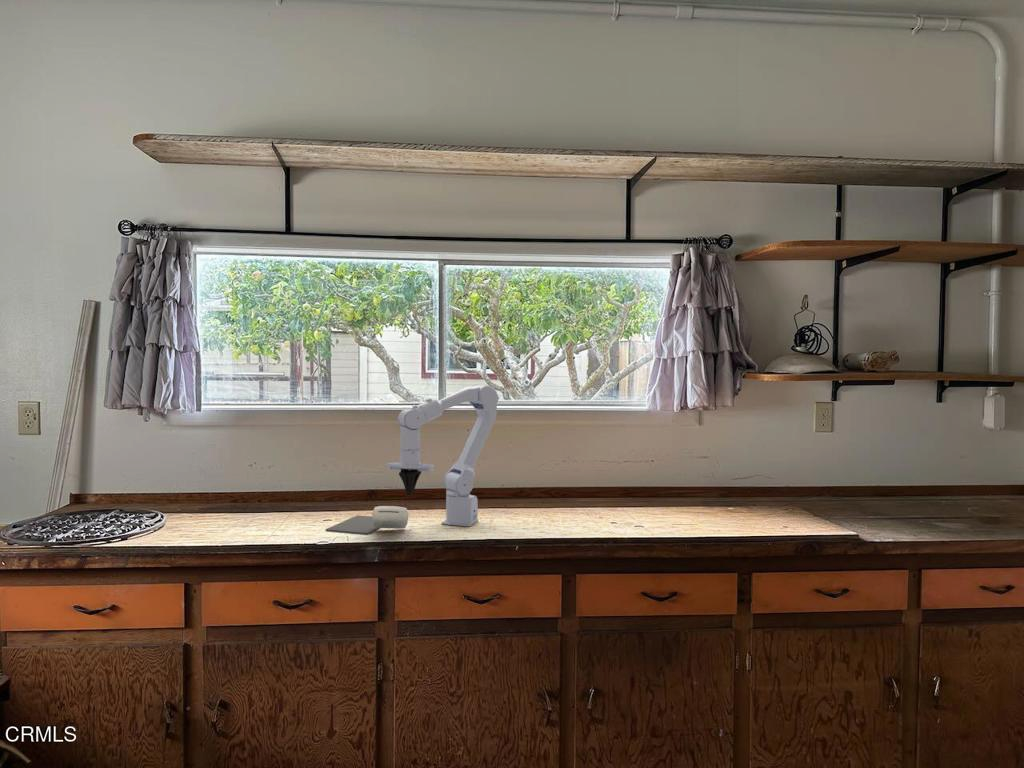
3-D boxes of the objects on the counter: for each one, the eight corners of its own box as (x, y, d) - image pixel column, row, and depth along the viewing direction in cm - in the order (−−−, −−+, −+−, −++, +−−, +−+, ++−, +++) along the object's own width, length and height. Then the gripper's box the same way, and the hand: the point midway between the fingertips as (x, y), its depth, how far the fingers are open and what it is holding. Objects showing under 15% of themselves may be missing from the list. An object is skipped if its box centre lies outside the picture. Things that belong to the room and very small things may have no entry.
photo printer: (408, 515, 191) (408, 504, 180) (407, 529, 189) (407, 519, 178) (373, 514, 189) (372, 503, 178) (372, 528, 187) (370, 518, 176)
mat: (396, 520, 199) (396, 518, 199) (367, 534, 182) (367, 533, 182) (357, 516, 203) (357, 515, 203) (325, 530, 186) (325, 529, 186)
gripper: (381, 449, 186) (381, 495, 186) (426, 452, 182) (426, 499, 182) (393, 447, 193) (393, 491, 193) (436, 449, 188) (436, 494, 189)
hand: (410, 494), depth 188 cm, fingers closed
